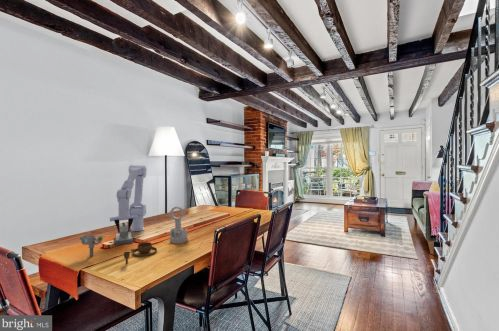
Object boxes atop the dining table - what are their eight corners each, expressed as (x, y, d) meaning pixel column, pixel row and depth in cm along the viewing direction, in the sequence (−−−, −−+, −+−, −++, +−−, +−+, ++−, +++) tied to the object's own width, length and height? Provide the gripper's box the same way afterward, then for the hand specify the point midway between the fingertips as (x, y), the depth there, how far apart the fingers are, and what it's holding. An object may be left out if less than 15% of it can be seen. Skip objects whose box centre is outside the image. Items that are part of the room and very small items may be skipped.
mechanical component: (99, 257, 124) (99, 237, 124) (79, 257, 125) (79, 237, 124) (103, 255, 127) (103, 235, 127) (83, 254, 128) (83, 235, 127)
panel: (115, 237, 155) (115, 233, 155) (131, 235, 159) (131, 231, 159) (115, 244, 142) (115, 240, 142) (132, 242, 147) (132, 238, 147)
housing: (119, 233, 153) (119, 222, 153) (127, 232, 155) (127, 221, 155) (119, 237, 146) (119, 225, 146) (128, 236, 148) (128, 224, 148)
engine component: (183, 243, 147) (189, 238, 157) (184, 208, 147) (189, 205, 157) (165, 242, 148) (172, 237, 158) (166, 207, 148) (172, 204, 158)
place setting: (164, 254, 131) (164, 243, 131) (125, 267, 116) (125, 254, 116) (147, 246, 142) (147, 236, 142) (109, 257, 127) (109, 245, 127)
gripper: (109, 211, 143) (109, 235, 144) (137, 209, 150) (137, 232, 150) (110, 209, 149) (109, 232, 150) (136, 207, 156) (136, 229, 157)
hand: (123, 232), depth 151 cm, fingers closed on housing, 4 cm apart
